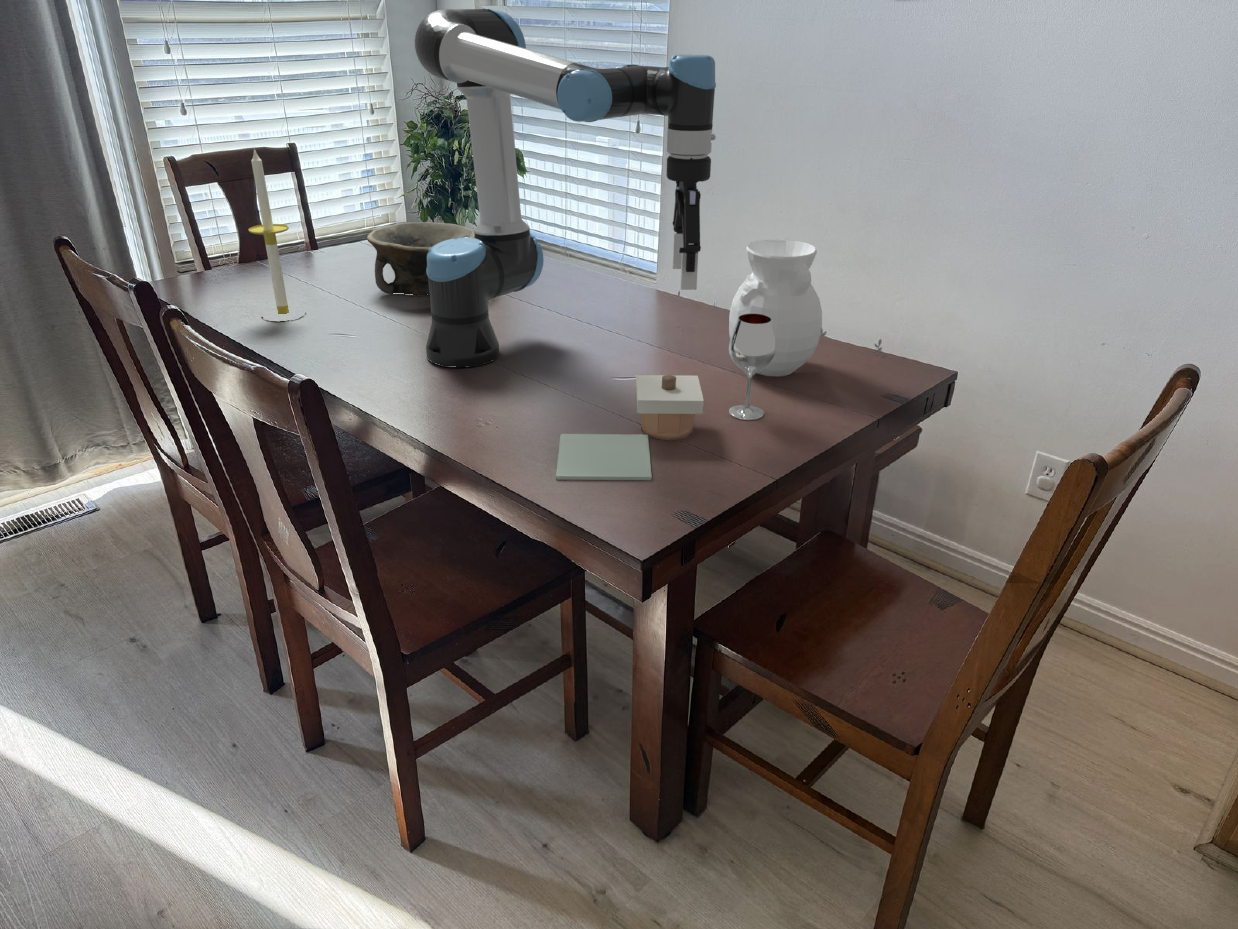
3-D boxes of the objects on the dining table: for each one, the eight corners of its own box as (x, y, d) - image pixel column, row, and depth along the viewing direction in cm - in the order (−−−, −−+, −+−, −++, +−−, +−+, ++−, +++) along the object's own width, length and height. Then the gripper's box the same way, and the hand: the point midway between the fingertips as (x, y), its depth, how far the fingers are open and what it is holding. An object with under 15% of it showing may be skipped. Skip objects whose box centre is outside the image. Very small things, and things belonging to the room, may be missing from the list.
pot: (642, 440, 148) (643, 410, 145) (640, 417, 156) (641, 389, 153) (694, 440, 148) (696, 411, 145) (690, 418, 156) (691, 390, 153)
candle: (271, 325, 197) (239, 152, 179) (254, 314, 204) (222, 147, 186) (313, 316, 203) (286, 148, 185) (295, 306, 210) (268, 143, 192)
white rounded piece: (709, 358, 182) (716, 240, 170) (783, 347, 188) (796, 232, 176) (755, 391, 167) (767, 263, 155) (834, 378, 173) (851, 254, 161)
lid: (637, 413, 144) (637, 390, 142) (635, 387, 154) (636, 365, 152) (702, 413, 144) (704, 390, 142) (697, 388, 154) (698, 366, 152)
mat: (555, 479, 135) (555, 476, 135) (560, 437, 148) (560, 433, 148) (651, 480, 135) (651, 476, 135) (647, 437, 148) (647, 434, 148)
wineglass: (720, 404, 161) (727, 311, 153) (763, 403, 162) (772, 310, 153) (728, 423, 154) (736, 326, 146) (773, 421, 155) (783, 326, 146)
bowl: (501, 287, 226) (498, 229, 219) (430, 313, 206) (424, 250, 199) (425, 270, 238) (420, 215, 231) (352, 294, 219) (344, 234, 212)
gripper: (722, 166, 135) (714, 298, 145) (701, 144, 157) (695, 260, 167) (674, 167, 135) (670, 298, 145) (660, 144, 157) (657, 260, 167)
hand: (684, 278), depth 156 cm, fingers open, 13 cm apart
